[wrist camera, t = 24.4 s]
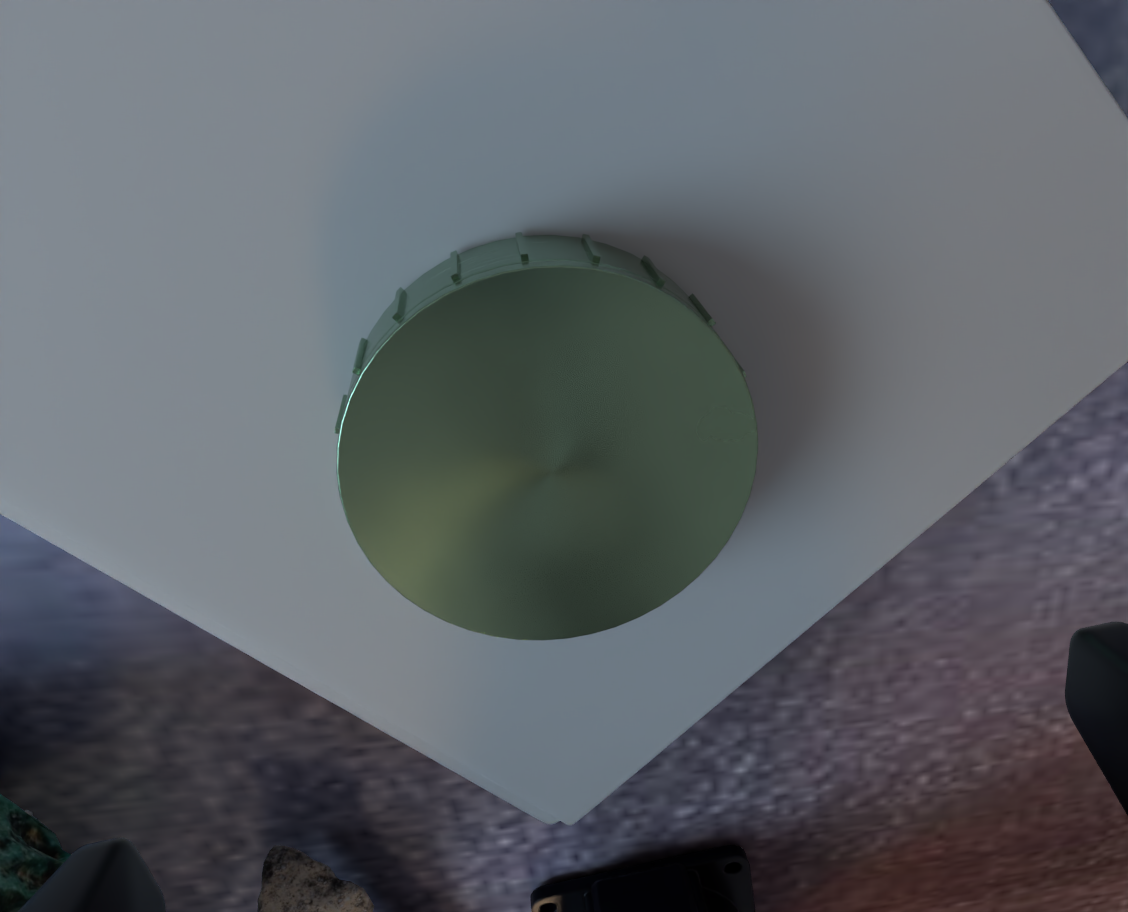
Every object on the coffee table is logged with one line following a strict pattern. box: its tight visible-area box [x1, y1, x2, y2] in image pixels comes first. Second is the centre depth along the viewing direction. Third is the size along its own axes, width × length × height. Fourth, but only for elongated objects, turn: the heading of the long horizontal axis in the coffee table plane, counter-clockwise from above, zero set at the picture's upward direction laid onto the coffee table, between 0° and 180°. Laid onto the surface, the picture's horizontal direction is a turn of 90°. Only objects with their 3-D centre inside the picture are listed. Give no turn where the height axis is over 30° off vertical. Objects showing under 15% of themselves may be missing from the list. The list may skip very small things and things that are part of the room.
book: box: [0, 0, 1128, 825], centre depth 16 cm, size 18×4×24 cm
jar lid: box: [334, 232, 758, 641], centre depth 15 cm, size 7×7×2 cm
